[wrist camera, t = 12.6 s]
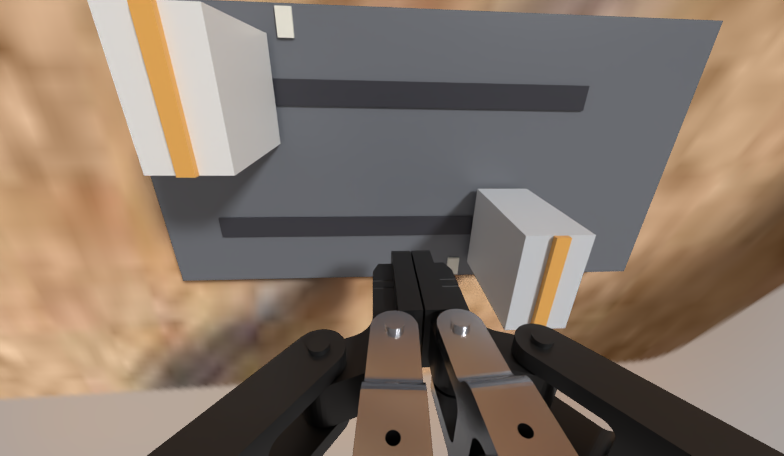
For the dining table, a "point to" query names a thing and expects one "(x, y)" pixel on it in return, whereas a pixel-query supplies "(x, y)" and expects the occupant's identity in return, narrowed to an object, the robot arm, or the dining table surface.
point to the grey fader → (527, 257)
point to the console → (438, 135)
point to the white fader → (189, 85)
